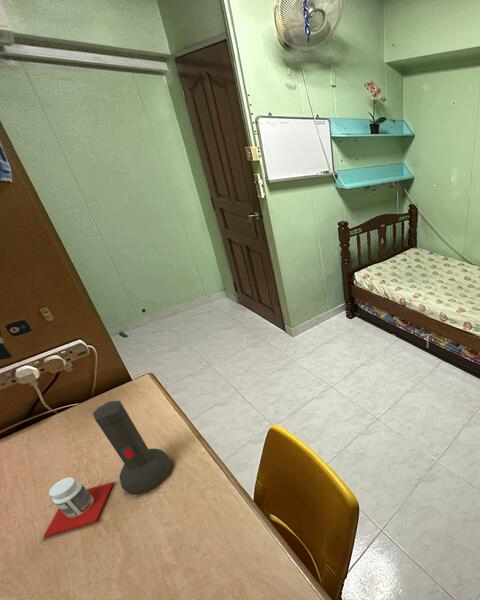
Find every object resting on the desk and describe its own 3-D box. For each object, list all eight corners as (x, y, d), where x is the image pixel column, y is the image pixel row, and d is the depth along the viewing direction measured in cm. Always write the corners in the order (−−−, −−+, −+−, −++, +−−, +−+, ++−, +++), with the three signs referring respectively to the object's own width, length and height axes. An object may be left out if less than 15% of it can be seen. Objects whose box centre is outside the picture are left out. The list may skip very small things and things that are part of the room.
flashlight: (126, 469, 80) (121, 504, 72) (79, 399, 68) (68, 433, 60) (172, 451, 84) (172, 481, 77) (136, 382, 72) (132, 411, 65)
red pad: (44, 537, 66) (43, 536, 66) (67, 496, 74) (66, 494, 73) (96, 522, 69) (95, 520, 69) (113, 483, 77) (112, 482, 76)
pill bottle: (93, 492, 74) (76, 470, 70) (95, 507, 71) (77, 486, 67) (65, 506, 71) (46, 485, 67) (66, 523, 68) (46, 502, 64)
